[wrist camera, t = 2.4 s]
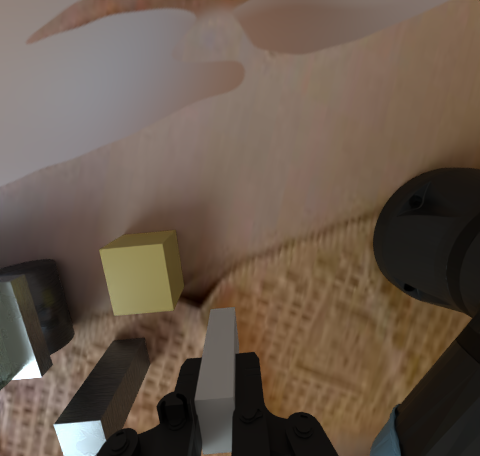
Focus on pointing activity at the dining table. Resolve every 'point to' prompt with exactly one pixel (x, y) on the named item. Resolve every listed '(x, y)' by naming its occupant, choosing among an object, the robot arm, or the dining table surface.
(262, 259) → the dining table surface
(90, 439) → the pin
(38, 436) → the dining table surface
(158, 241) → the block
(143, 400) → the dining table surface
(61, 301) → the box
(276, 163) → the dining table surface
